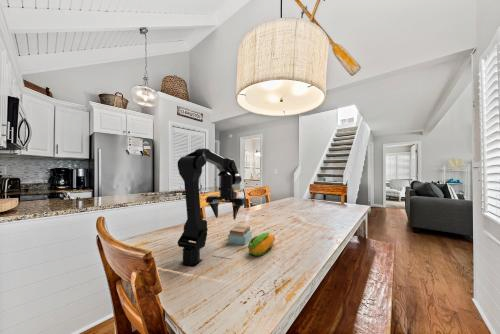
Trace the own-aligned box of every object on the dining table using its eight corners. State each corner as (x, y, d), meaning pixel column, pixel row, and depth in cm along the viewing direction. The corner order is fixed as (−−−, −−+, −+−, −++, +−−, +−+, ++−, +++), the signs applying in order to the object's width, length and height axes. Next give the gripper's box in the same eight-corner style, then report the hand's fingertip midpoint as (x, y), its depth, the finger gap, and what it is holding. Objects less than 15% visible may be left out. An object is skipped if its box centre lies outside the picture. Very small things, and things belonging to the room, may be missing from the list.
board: (242, 236, 93) (242, 232, 93) (229, 234, 95) (229, 230, 95) (249, 230, 103) (249, 226, 103) (237, 228, 105) (237, 224, 105)
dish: (245, 246, 93) (245, 236, 93) (227, 244, 96) (227, 234, 96) (251, 239, 102) (251, 230, 102) (235, 237, 105) (235, 228, 105)
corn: (244, 238, 82) (266, 226, 99) (242, 256, 82) (265, 241, 99) (260, 243, 78) (280, 229, 95) (258, 262, 78) (279, 245, 95)
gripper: (250, 185, 102) (249, 216, 101) (216, 183, 108) (216, 213, 108) (242, 186, 91) (241, 222, 91) (205, 185, 98) (204, 218, 97)
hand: (225, 218), depth 97 cm, fingers open, 9 cm apart
